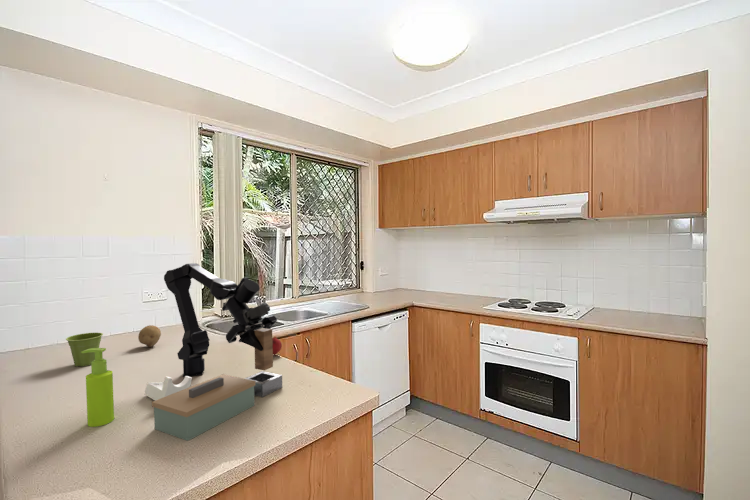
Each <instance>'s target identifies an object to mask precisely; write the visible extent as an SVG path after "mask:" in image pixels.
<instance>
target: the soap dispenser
mask: <svg viewBox="0 0 750 500" xmlns="http://www.w3.org/2000/svg"><path fill="white" fill-rule="evenodd" d="M105 351H107V348H106V347H99V348H91V349H87V350H84V351H82V352H81V353H86V352H95V360H94V361H92V362H91V365H90V368H91V371H90V372H91V373H88V374H87V375H86V376H85V388H86V389H85V391H86V392H85V393H86V394H85V395H86V414H87V415H86V416H87V427H91V428H96V427H97V428H98V427H101V426H105V425H108V424H110V423H112V422H113V421H114V420H115V412H114V411H115V409H114V407H115V406H114V401H115V400H114V378H113V377H114V376H113V371H112V370H109V369H108V362H107V359H106V358H103V352H105Z"/></svg>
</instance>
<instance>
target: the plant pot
mask: <svg viewBox="0 0 750 500" xmlns="http://www.w3.org/2000/svg"><path fill="white" fill-rule="evenodd" d="M103 335H104V333H103V332H86V333H85V332H84V333H80V334H74V335H70V336H68V337H66V338H65V340H66V341H67V343H68V346H69V348H70V351H71V356H72V360H73V363H74V366H75V367H88V366H91V362H92V361H94V360H95V352H86V353H81V352H82V351H84V350H87V349H91V348H100V344H101V341H102V337H103Z"/></svg>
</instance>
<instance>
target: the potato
mask: <svg viewBox="0 0 750 500" xmlns="http://www.w3.org/2000/svg"><path fill="white" fill-rule="evenodd" d="M161 331H162V330H161V329H160V328H159V327H158V326H156V325H150V324H149V325H147V326H145V327H143V328H141V330H139V333H138V335H137V337H138V342H139V344H142V345H145V346H147V347H149V348H151V347H154V346H156V345H157V343H158V342H159V340H160V339H161V336H162V332H161Z"/></svg>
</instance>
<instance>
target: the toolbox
mask: <svg viewBox="0 0 750 500" xmlns="http://www.w3.org/2000/svg"><path fill="white" fill-rule="evenodd" d="M254 386H255V381H253V380H248V379H245V378H243V377H239V376H238V377H237V376H232V375H229V374H226V373H223V374H220V375H217V376H214V377H211V378H209V379H207V380H205V381H202V382H199V383H197V384H194V385H192V386H191V385H190V387H189V388H186V389H184V390H181V391H179V392H176V393H173V394H171V395H168V396H166V397H163V398H161V399H158V400H156V401H155V400H153V401H151V406H152V407H153V415H154V416H153V420H154V421H153V423H154V430H156V431H159V432H163V433H165V434H167V435H171V436H173V437H176V438H179V439H182V440H184V441H187V442H188V441H190V440H192V439H193V438H195V437H198V436H199V435H201V434H203V433H205V432H207V431H209V430H211V429H212V428H215V427H217V426H218V425H221V424H222V423H224V422H226V421H227V420H228V421H229V420H230V419H232V418H233V417H235V416H237V415H239V414H241V413H243V412H245V411H247V410H249V409H250V408H252V407H254V406H255V391H254Z"/></svg>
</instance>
